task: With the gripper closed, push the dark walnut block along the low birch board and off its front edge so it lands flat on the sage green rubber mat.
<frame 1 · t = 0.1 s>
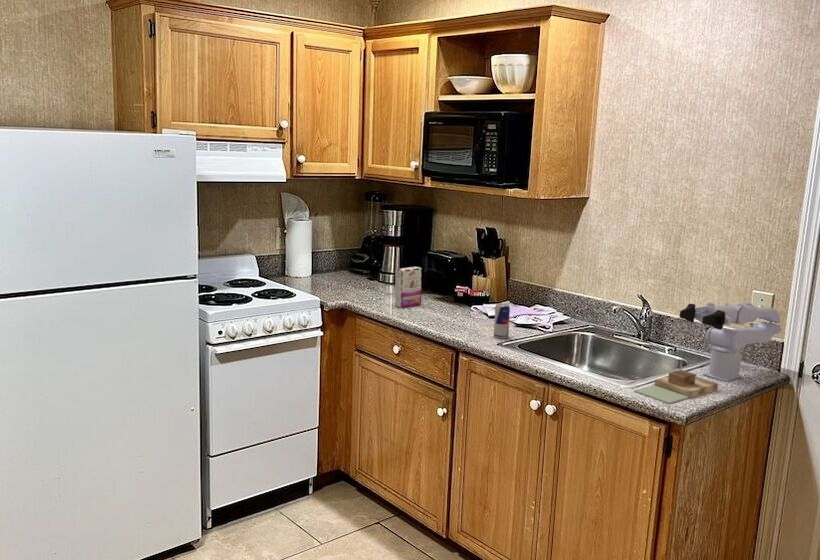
hand: (692, 317, 221), 22 cm above the worktop, tool horizontal, fingers open, 7 cm apart
birch board: (685, 388, 224), on the worktop
sage mat: (661, 394, 217), on the worktop
walnut block: (681, 383, 222), point 2 cm above the worktop, touching birch board
energy drink: (500, 337, 275), on the worktop
candy bar box: (407, 306, 320), on the worktop
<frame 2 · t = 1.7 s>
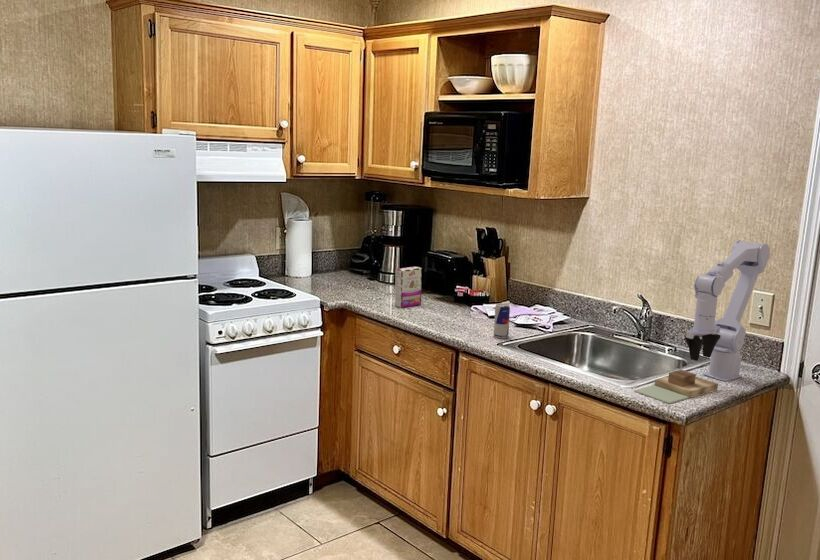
hand: (700, 358, 226), 8 cm above the worktop, tool pointing down, fingers open, 6 cm apart
nothing on the worktop moved.
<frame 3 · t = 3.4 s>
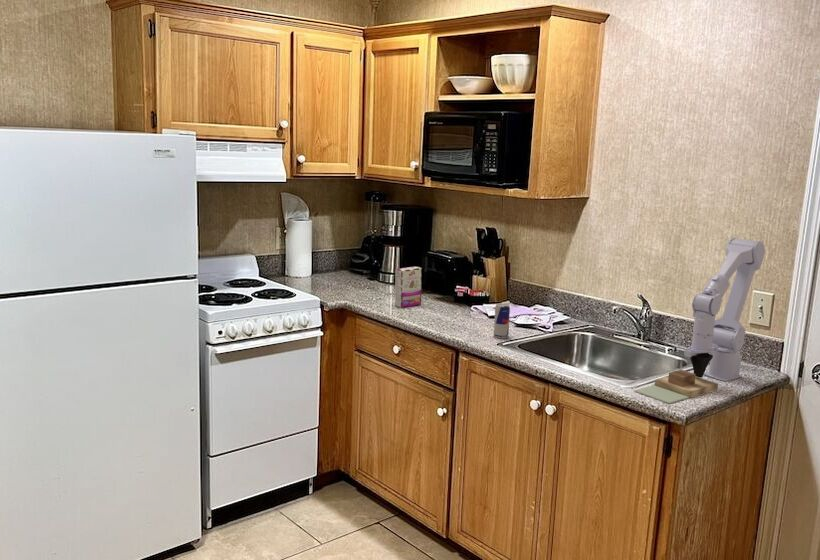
hand: (698, 376, 227), 3 cm above the worktop, tool pointing down, fingers closed
nothing on the worktop moved.
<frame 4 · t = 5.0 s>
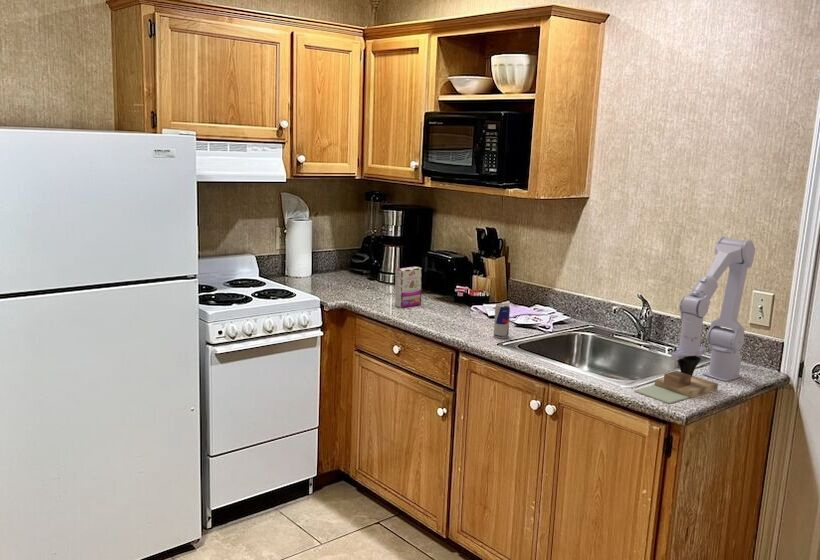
hand: (686, 379, 223), 3 cm above the worktop, tool pointing down, fingers closed
walnut block: (676, 384, 221), point 2 cm above the worktop, touching birch board
everything else where it was.
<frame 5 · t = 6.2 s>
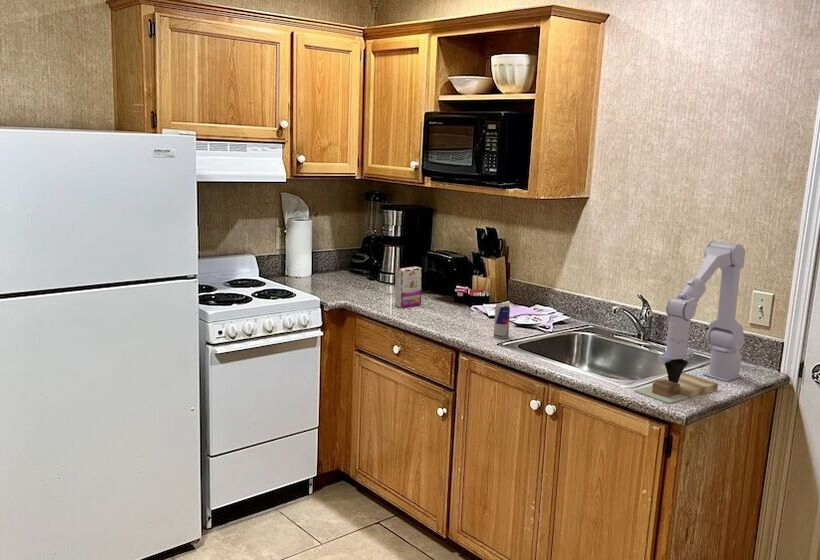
hand: (673, 383, 220), 3 cm above the worktop, tool pointing down, fingers closed
walnut block: (665, 393, 218), resting on sage mat, touching gripper
everything else where it was.
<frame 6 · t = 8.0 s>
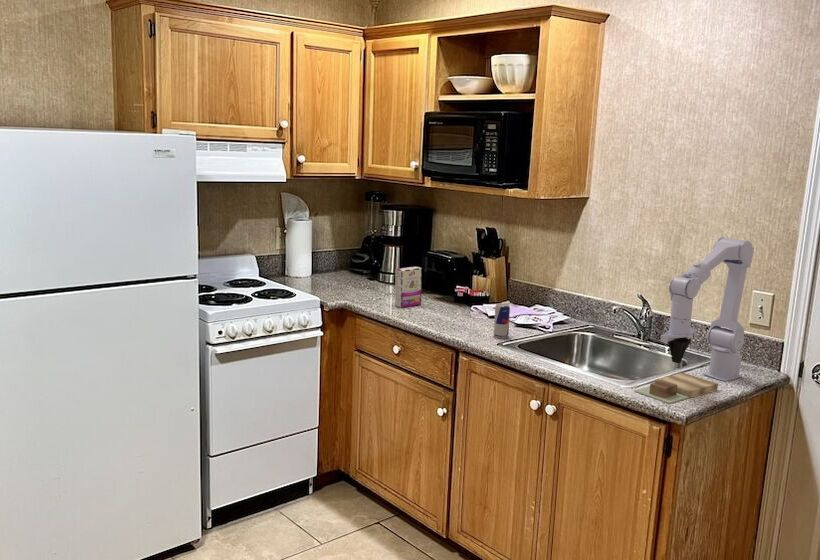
hand: (676, 362, 221), 8 cm above the worktop, tool pointing down, fingers closed
walnut block: (662, 394, 217), resting on sage mat
everything else where it was.
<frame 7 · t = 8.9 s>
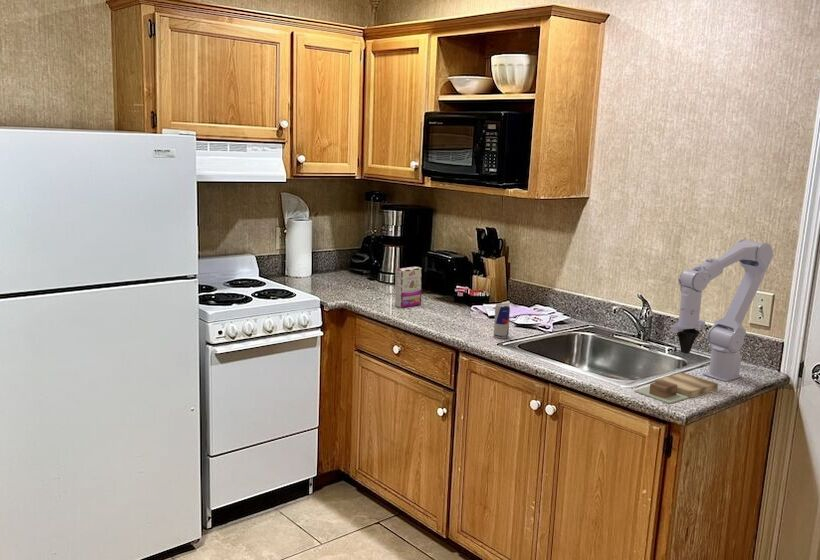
hand: (685, 352, 228), 9 cm above the worktop, tool pointing down, fingers closed
nothing on the worktop moved.
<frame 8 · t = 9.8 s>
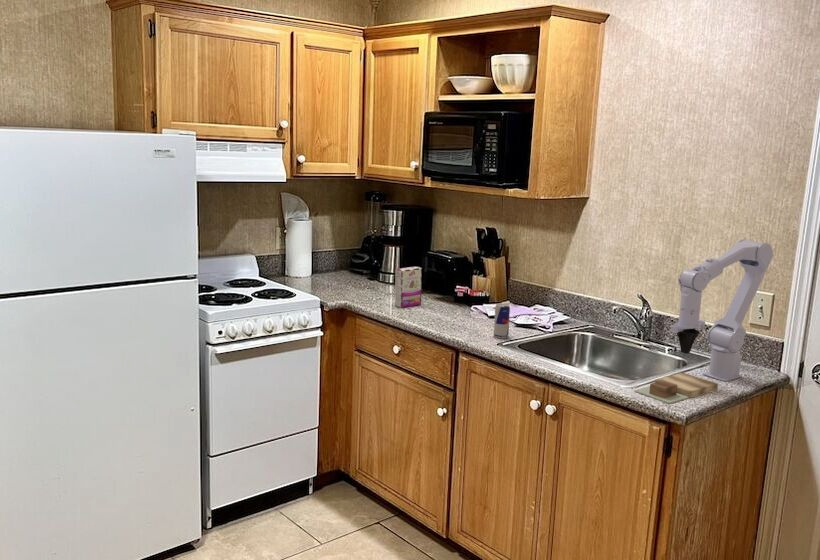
hand: (685, 352, 228), 9 cm above the worktop, tool pointing down, fingers closed
nothing on the worktop moved.
at the end: walnut block inside the target area on the sage mat (0.9 cm from its centre), point 0.4 cm above the sage mat's base; walnut block tilted 0°; walnut block touching sage mat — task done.
